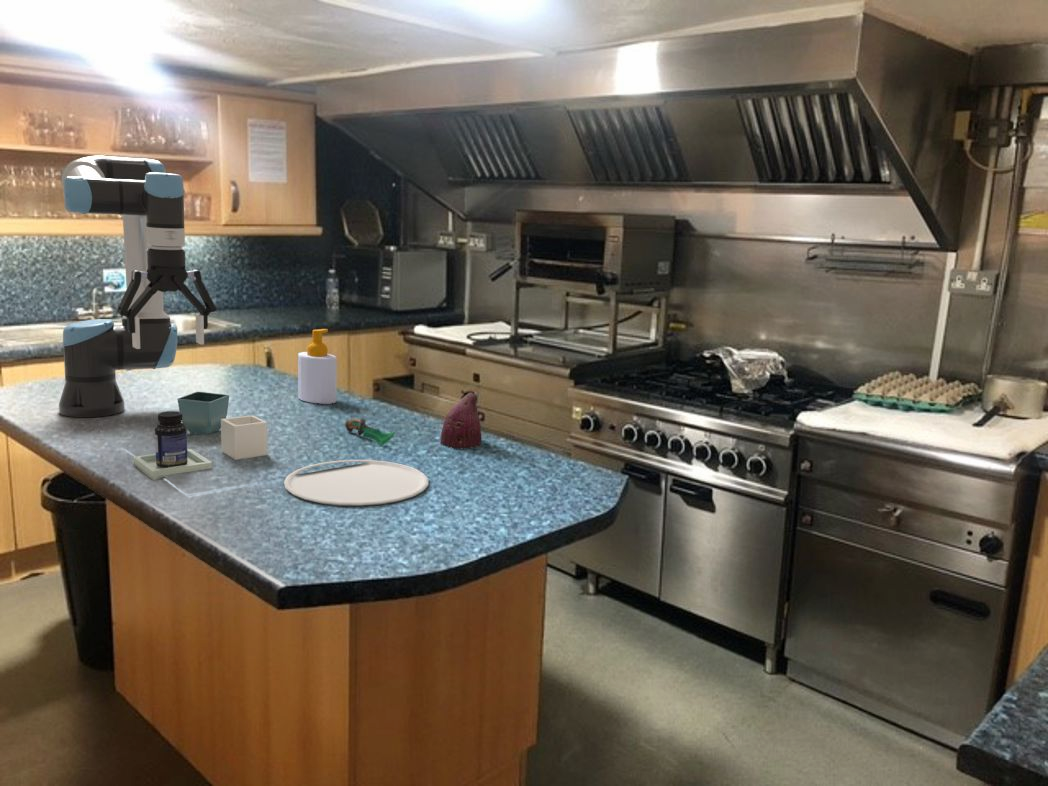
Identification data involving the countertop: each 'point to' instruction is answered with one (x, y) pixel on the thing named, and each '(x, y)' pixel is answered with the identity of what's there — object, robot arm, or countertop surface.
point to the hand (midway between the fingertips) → (169, 345)
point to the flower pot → (203, 411)
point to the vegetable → (462, 424)
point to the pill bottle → (170, 440)
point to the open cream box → (244, 437)
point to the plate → (357, 483)
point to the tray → (154, 472)
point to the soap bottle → (317, 372)
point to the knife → (368, 431)
